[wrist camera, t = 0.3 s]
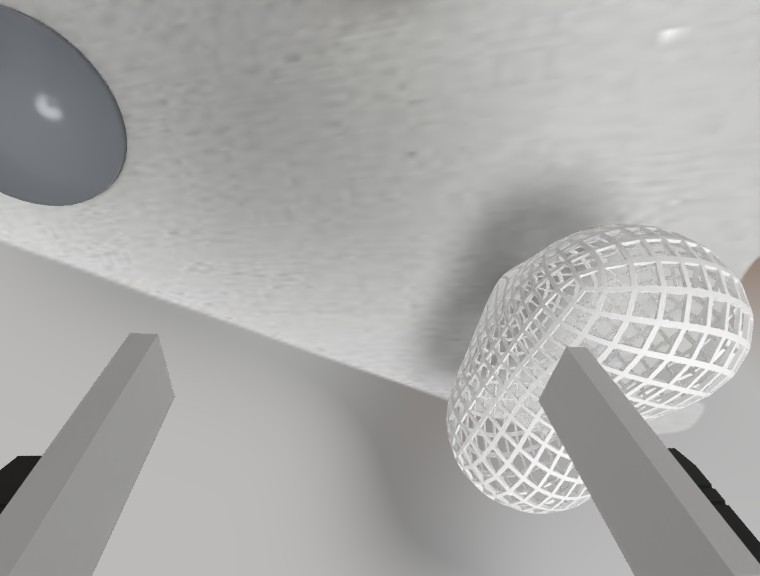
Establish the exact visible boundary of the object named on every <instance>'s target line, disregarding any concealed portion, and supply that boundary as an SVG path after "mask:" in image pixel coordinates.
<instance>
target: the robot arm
mask: <svg viewBox="0 0 760 576" xmlns="http://www.w3.org/2000/svg"><path fill="white" fill-rule="evenodd" d="M174 397H175V396H174V392H173V389H172V385H171V381H170V377H169V373H168V370H167V366H166V362H165V359H164V355H163V351H162V347H161V344H160V339H159V336H158V334H140V333H130V334H129V335H128V337H127V338H126V340H125V341H124V343H123V344H122V345H121V347H120V348H119V349H118V351H117V352H116V354H115V355H114V356H113V358H112V359H111V361H110V362H109V363H108V365H107V366H106V368H105V369H104V371H103V372H102V373H101V375H100V376H99V377H98V379H97V380H96V382H95V383H94V384H93V386H92V387H91V389H90V390H89V391H88V393H87V394H86V396H85V397H84V398H83V400H82V401H81V402H80V404H79V405H78V407H77V408H76V409H75V411H74V412H73V414H72V415H71V417H70V418H69V419H68V421H67V422H66V424H65V425H64V426H63V428H62V429H61V431H60V432H59V433H58V435H57V436H56V437H55V439H54V440H53V442H52V443H51V444H50V446H49V447H48V449H47V450H46V451H45V453H44V454H43V456H17V457H16V458H15V459H14V460H12V461H11V462H10V463H9V464H7V465H6V466H5V467H4V468H2V469H1V470H0V576H92V575H93V572H94V570H95V568H96V566H97V564H98V562H99V559H100V557H101V555H102V553H103V551H104V549H105V546H106V544H107V542H108V540H109V538H110V536H111V534H112V531H113V529H114V527H115V525H116V523H117V521H118V518H119V516H120V514H121V512H122V510H123V507H124V505H125V503H126V501H127V499H128V497H129V495H130V493H131V490H132V488H133V486H134V484H135V482H136V479H137V477H138V475H139V473H140V471H141V468H142V466H143V464H144V462H145V460H146V458H147V456H148V454H149V451H150V449H151V447H152V445H153V443H154V441H155V438H156V436H157V434H158V432H159V430H160V428H161V425H162V423H163V421H164V419H165V417H166V415H167V413H168V410H169V408H170V406H171V404H172V402H173V400H174ZM538 401H539V402H540V404H541V406H542V408H543V410H544V411H545V413H546V415H547V417H548V419H549V421H550V422H551V424H552V426H553V428H554V430H555V432H556V433H557V435H558V437H559V439H560V441H561V442H562V444H563V446H564V448H565V450H566V452H567V453H568V455H569V457H570V459H571V461H572V462H573V464H574V466H575V468H576V470H577V471H578V473H579V475H580V477H581V479H582V481H583V483H584V484H585V486H586V488H587V490H588V492H589V493H590V495H591V497H592V499H593V501H594V503H595V504H596V506H597V508H598V510H599V512H600V513H601V515H602V517H603V519H604V521H605V522H606V524H607V526H608V528H609V530H610V532H611V534H612V535H613V537H614V539H615V541H616V543H617V544H618V546H619V548H620V550H621V552H622V554H623V555H624V557H625V559H626V561H627V563H628V564H629V566H630V568H631V570H632V572H633V574H634V575H635V576H760V542H759V541H758V540H757V539H756V537H755V536H754V535H753V534H752V533H751V531H750V530H749V529H748V528H747V527H746V526H745V524H744V523H743V522H742V521H741V519H740V518H739V517H738V516H737V515H736V513H735V512H734V511H733V510H732V509H731V507H730V506H729V505H726V504H725V500H724V499H723V498H722V497H721V495H720V494H719V493H718V492H717V491H716V490H715V489H713V488H712V487H711V484H710V482H709V481H708V480H707V479H706V478H705V476H704V475H703V474H702V473H701V471H700V470H699V469H698V468H697V467H696V465H694V464H693V463H692V462H691V461H690V460H688V459H687V458H686V457H684V455H682V454H681V453H680V452H679V451H677V450H676V449H675V448H666V446H665V445H664V444H663V442H662V441H661V440H660V439H659V438H658V436H657V435H656V434H655V432H654V431H653V430H652V429H651V427H650V426H649V425H648V424H647V422H646V421H645V420H644V419H643V417H642V416H641V415H640V414H639V412H638V411H637V410H636V409H635V407H634V406H633V405H632V404H631V402H630V401H629V400H628V399H627V397H626V396H625V395H624V394H623V392H622V391H621V390H620V389H619V387H618V386H617V385H616V384H615V382H614V381H613V380H612V379H611V377H610V376H609V375H608V374H607V372H606V371H605V370H604V369H603V367H602V366H601V365H600V364H599V362H598V361H597V360H596V359H595V357H594V356H593V355H592V354H591V352H590V351H589V350H588V349H587V347H566V348H565V350H564V352H563V354H562V356H561V358H560V360H559V362H558V364H557V366H556V368H555V370H554V371H553V373H552V375H551V377H550V379H549V381H548V383H547V385H546V387H545V389H544V391H543V393H542V395H541V397H540V398H539V400H538Z"/></svg>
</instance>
